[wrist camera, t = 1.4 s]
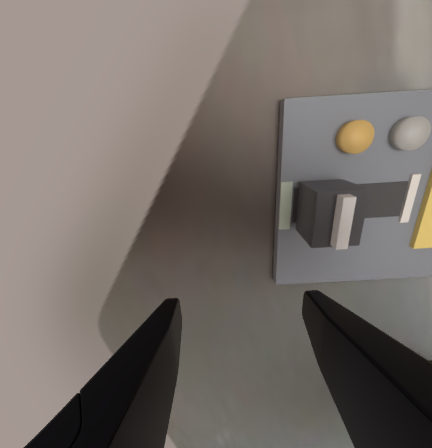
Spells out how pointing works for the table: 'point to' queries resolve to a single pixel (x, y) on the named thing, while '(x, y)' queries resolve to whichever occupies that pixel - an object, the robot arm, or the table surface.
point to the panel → (358, 183)
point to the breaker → (331, 213)
